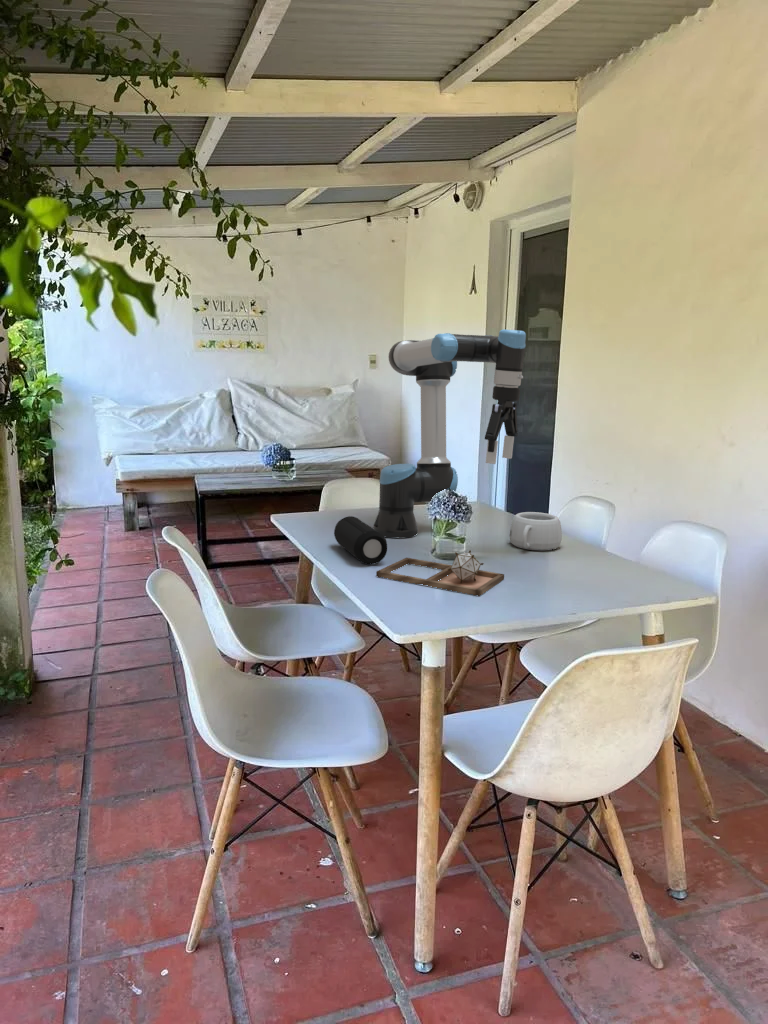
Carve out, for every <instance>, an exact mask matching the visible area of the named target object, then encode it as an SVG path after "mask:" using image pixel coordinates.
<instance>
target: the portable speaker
mask: <svg viewBox="0 0 768 1024" xmlns="http://www.w3.org/2000/svg"><path fill="white" fill-rule="evenodd" d="M333 535H334V539H335V540H336V542H337V543H338V544H339V545H340V546H341V547H342V548H343V549H345V550H346V551H347V552H348V553H350V554H351V555H352V557H354V558H356V559H357V560H358V561H359V562H361V563H362V564H365V565H374V564H378V563H380V562H381V561H383V560H384V558H386V555H387V553H388V541H387V540H386V537H384V536H383V535H382V534H381V533H379V532H377V531H376V530H374V529H373V528H372V526H370V525H368V524H366V522H364V521H362V520H361V519H359V517H358V518H357V517H355V516H352V515H351V516H350V515H349V516H345V517H343V518H341V519H340V520H339V521H338V522H337V523H336V524H335V527H334V533H333Z"/></svg>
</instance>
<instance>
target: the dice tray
mask: <svg viewBox="0 0 768 1024" xmlns="http://www.w3.org/2000/svg"><path fill="white" fill-rule="evenodd" d="M408 563H409V564H408ZM406 564H407V565H411V564H415V565H414V566H417V565H421V566H420V567H422V566H427V567H426V568H428V567H432V568H431V569H434V568H437V569H436V570H439V569H441V571H440V570H439V571H438V572H436V573H435V574H433V575H431V576H429V577H428V578H421V577H415V576H411V575H410V576H409V575H406V574H400V573H394V571H393V570H395V571H397V570H398V568H399V569H401V568H403V567H405V566H407V565H406ZM404 565H405V566H404ZM402 566H403V567H402ZM451 566H452V564H447V563H446V564H445V563H441V562H435V561H429V560H424V559H419V558H418V559H417V558H410V557H404V558H402V559H400V560H398V561H395V562H394V563H391V564H390V565H387V566H386V567H382V568H381V569H379V570H376V573H375V577H376V576H378V577H377V578H380V577H384V578H383V579H385V578H388V579H387V580H391V579H393V580H392V581H396V580H398V581H397V582H401V581H403V582H402V583H406V582H409V583H408V584H412V583H415V584H414V585H417V584H423V585H428V586H432V587H431V588H433V587H437V588H436V589H438V588H442V589H441V590H443V589H447V590H446V591H449V590H452V591H451V592H454V591H457V592H456V593H459V592H462V593H461V594H465V593H467V594H466V595H470V594H473V595H472V596H475V595H478V596H477V597H481V596H483V595H484V594H486V593H487V592H488V591H490V590H491V589H492V588H494V587H495V586H497V585H499V584H500V583H501V582H502V581H504V580H505V574H504V573H499V572H494V571H487V570H482V569H479V570H478V572H477V575H476V576H475V579H476V581H474V579H470V580H464V581H462V583H460V582H461V580H460V579H459V578H458V577H457V576H456V575H455V574H454V573H453V572H452V571H451V570H448V568H450V569H451ZM400 567H401V568H400ZM396 569H397V570H396ZM391 571H393V572H391ZM447 575H448V576H447ZM440 579H441V580H440ZM438 580H439V581H438ZM428 586H427V587H428ZM489 589H490V590H489ZM486 591H487V592H486ZM483 593H484V594H483ZM480 595H481V596H480Z"/></svg>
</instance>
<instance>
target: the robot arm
mask: <svg viewBox="0 0 768 1024" xmlns="http://www.w3.org/2000/svg"><path fill="white" fill-rule="evenodd" d="M498 332H499V333H498V336H497V335H490V334H489V335H488V334H487V335H482V334H481V335H479V334H457V333H449V332H447V333H446V332H445V333H437V334H435V335H434V337H433V338H427V339H423V340H415V339H414V340H412V339H411V340H410V339H408V340H401V341H398V342H396V343H394V344H393V345H392V346H391V348H390V349H389V353H388V363H389V365H390V366H391V368H392V369H393V370H394V371H395V372H397V373H399V374H400V375H404V376H410V377H412V376H413V377H415V383H416V384H418V386H419V387H420V456H421V457H420V459H419V460H418V461H417V462H416V465H415V464H413V463H396V464H390V465H386V466H385V467H383V468H382V469H381V471H380V476H379V477H380V478H379V482H378V483H379V502H378V503H379V506H378V509H379V510H378V513H377V516H376V518H375V522H374V524H373V529H374V530H376V531H377V532H379V533H381V534H382V535H383V536H386V537H385V538H387V537H410V538H412V537H411V536H414V535H416V534H417V533H418V532H419V526H418V523H417V520H416V516H415V512H414V510H415V509H414V505H415V504H414V503H430V501H431V499H432V497H433V496H434V495H435V494H436V493H438V492H440V491H442V490H444V489H447V488H450V489H452V490H454V491H455V493H456V492H457V489H458V485H459V484H458V483H459V481H458V480H459V477H458V474H457V471H456V469H455V468H454V467H452V466H451V465H452V464H451V463H452V462H451V461H450V460H449V459H448V458H447V386H448V385H449V384H450V383H451V378H452V377H453V376H455V374H456V372H457V370H456V369H457V368H458V362H467V363H469V362H470V363H471V362H472V363H489V364H490V363H493V364H495V368H494V377H493V384H494V386H493V387H492V399H493V400H495V401H497V403H493V404H492V405H491V406H492V407H491V414H490V417H489V421H488V424H487V428H486V431H485V435H484V440H487V444H486V445H487V448H486V457H485V463H486V464H492V465H496V463H497V455H498V454H497V453H498V443H499V440H498V437H499V435H500V432H501V430H502V428H503V427H504V431H505V435H504V439H503V447H502V455H501V458H504V459H509V460H510V459H511V460H512V458H513V449H514V441H515V437H518V417H517V416H518V414H517V405H518V404H517V402H519V401H520V393H521V389H520V388H519V387H520V386H521V384H522V379H524V376H523V368H524V360H525V352H526V346H527V345H526V338H527V333H526V332H525V331H524V330H517V329H501V330H499V331H498ZM503 425H504V426H503ZM418 534H419V533H418ZM418 534H417V535H418ZM417 535H416V536H417ZM414 537H415V536H414Z"/></svg>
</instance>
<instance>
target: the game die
mask: <svg viewBox="0 0 768 1024" xmlns="http://www.w3.org/2000/svg"><path fill="white" fill-rule="evenodd" d="M471 552H472V551H471V549H469V551H468V552H466V553H465V552H464V553H458V552H457V551H455V552H454V554H455V555H456V556H454V557H455V558H454V560H453V562H452V564H451V565H452V566H451V569H450V568H448V570H451V571H452V572H453V573H454V574H455V575H456V576H457V577H458V578H459V579H460V580H461V582H460V583H462V581H464V580H470V579H474V581H476V579H475V576H476V575H477V572H478V570H480V567H481V566H483V565H485V563H484V562H480V561H479V560H478V559H477V558H476V557H475V554H472V553H471Z"/></svg>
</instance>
